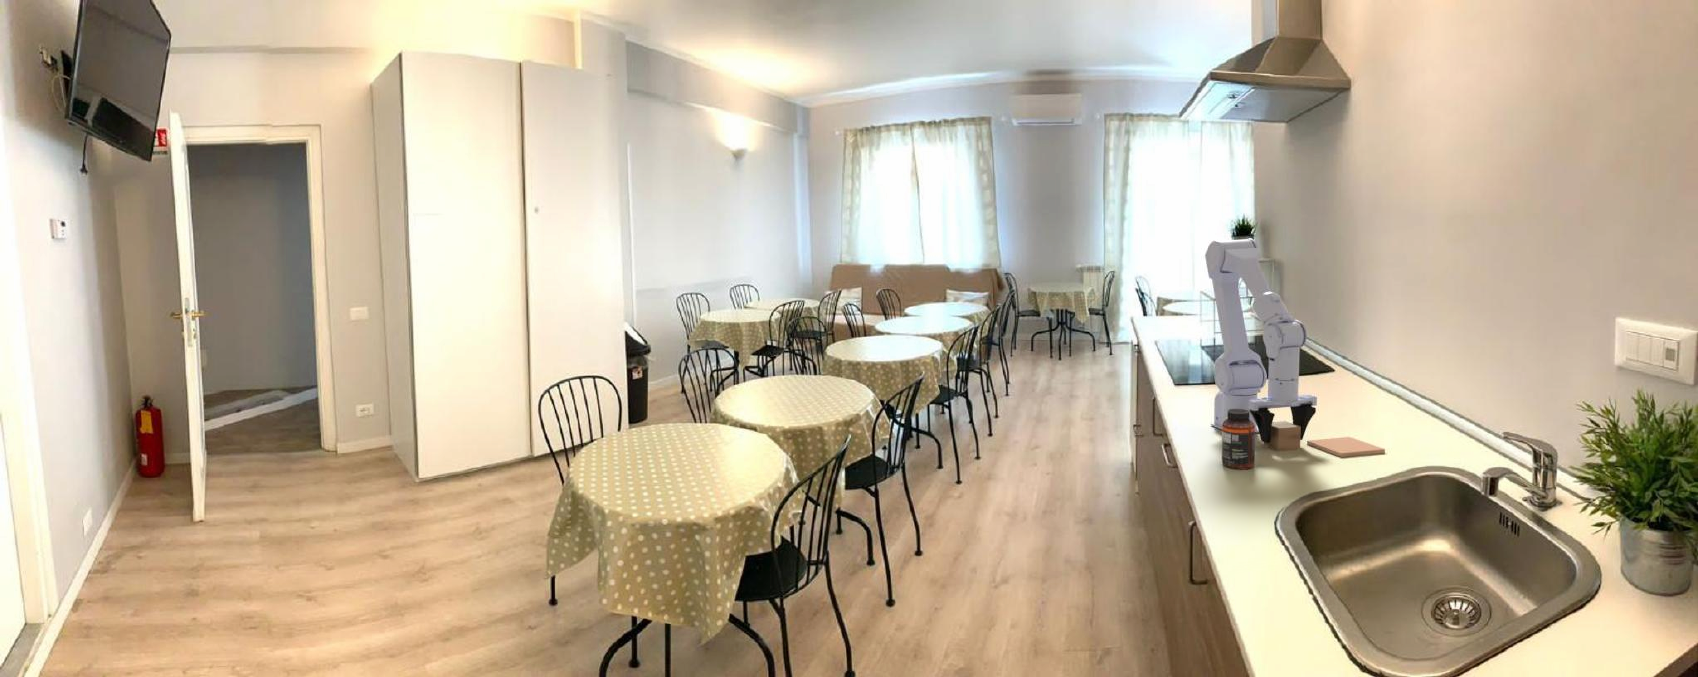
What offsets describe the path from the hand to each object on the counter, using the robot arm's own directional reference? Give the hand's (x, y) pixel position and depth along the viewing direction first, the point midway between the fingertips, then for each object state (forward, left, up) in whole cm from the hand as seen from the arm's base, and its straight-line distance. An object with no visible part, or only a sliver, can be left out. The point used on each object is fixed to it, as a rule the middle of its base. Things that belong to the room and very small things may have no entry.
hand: (1281, 440), depth 178 cm
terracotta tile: (+5, +11, -1) cm, 12 cm away
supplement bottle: (+9, -16, -2) cm, 18 cm away
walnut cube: (0, 0, -2) cm, 2 cm away
